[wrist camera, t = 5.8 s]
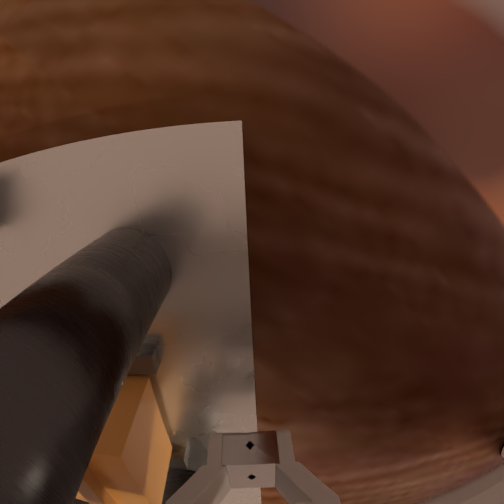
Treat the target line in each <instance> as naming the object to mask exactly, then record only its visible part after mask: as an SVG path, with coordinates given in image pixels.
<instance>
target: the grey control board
mask: <svg viewBox="0 0 504 504" xmlns="http://www.w3.org/2000/svg"><path fill="white" fill-rule="evenodd" d="M127 376H136V377H149V379H150V382H151V385H152V389H153V392H154V395H155V398H156V401H157V405H158V408H159V411H160V414H161V417H162V420H163V423H164V425H165V428H166V431H167V434H168V437H169V439H170V442H171V445H172V447H173V448H172V453H171V458H170V463H169V468H168V473H167V478H166V483H165V489H164V494H163V499H162V504H166V501H167V500H168V499H169V498H170V497H171V496H172V495H173V494H174V493H175V492H176V491H177V490H178V489H179V488H181V487H182V486H183V485H184V484H185V483H186V482H187V481H188V480H189V479H190V478H191V477H192V476H193V475H194V474H195V473H196V471H197V470H198V469H199V468H200V467H201V466H202V465H206V462H207V451H208V441H209V434H210V432H215V433H250V432H257V415H256V396H255V377H254V358H253V338H252V318H251V299H250V278H249V258H248V237H247V216H246V195H245V174H244V152H243V130H242V121H225V122H211V123H199V124H188V125H178V126H170V127H162V128H154V129H147V130H140V131H133V132H127V133H121V134H115V135H109V136H104V137H99V138H94V139H89V140H84V141H79V142H75V143H70V144H66V145H62V146H57V147H53V148H49V149H45V150H42V151H38V152H34V153H30V154H27V155H23V156H20V157H16V158H13V159H10V160H7V161H3V162H0V504H89V503H88V502H86V501H83V500H79V499H76V496H77V493H78V490H79V488H80V485H81V483H82V480H83V477H84V475H85V472H86V470H87V467H88V465H89V462H90V460H91V457H92V455H93V452H94V450H95V447H96V445H97V443H98V440H99V438H100V436H101V433H102V431H103V428H104V426H105V424H106V421H107V419H108V417H109V415H110V412H111V410H112V408H113V406H114V403H115V401H116V399H117V397H118V394H119V392H120V390H121V388H122V386H123V383H124V381H125V379H126V377H127ZM220 504H261V488H236V489H231V490H230V491H229V493H228V494H227V495H226V497H225V498H224V499H223V501H222V502H221V503H220Z"/></svg>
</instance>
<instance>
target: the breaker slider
mask: <svg viewBox="0 0 504 504" xmlns="http://www.w3.org/2000/svg"><path fill="white" fill-rule="evenodd" d="M172 448H173V447H172V445H171V442H170V439H169V437H168V434H167V431H166V428H165V425H164V423H163V420H162V417H161V414H160V411H159V408H158V405H157V401H156V398H155V395H154V392H153V389H152V385H151V382H150V379H149V377H136V376H127V377H126V379H125V381H124V383H123V386H122V388H121V390H120V392H119V394H118V397H117V399H116V401H115V403H114V406H113V408H112V410H111V412H110V415H109V417H108V419H107V421H106V424H105V426H104V428H103V431H102V433H101V436H100V438H99V440H98V443H97V445H96V447H95V450H94V452H93V455H92V457H91V460H90V462H89V465H88V467H87V470H86V472H85V475H84V477H83V480H82V483H81V485H80V488H79V490H78V493H77V496H76V499H79V500H83V501H86V502H88V503H89V504H162V499H163V494H164V489H165V483H166V478H167V473H168V468H169V463H170V458H171V453H172Z"/></svg>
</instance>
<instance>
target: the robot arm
mask: <svg viewBox="0 0 504 504" xmlns="http://www.w3.org/2000/svg"><path fill="white" fill-rule="evenodd" d="M501 456H502V457H503V458H504V447H503V449H502V453H501ZM262 487H275V488H276V490H277V491H278V492H279V493H280V494H281V495H282V496H283V498H284V499H285V500H286V501H287V502H288V503H289V504H340V500H339V496H338V495H337V494H336V493H335V492H333V491H332V490H331V489H330V488H328V487H327V486H326V485H325V484H324V483H323V482H321V481H320V480H319V479H318V478H317V477H316V476H314V475H313V474H312V473H311V472H310V471H309V470H308V469H306V468H305V467H304V466H303V465H302V464H301V463H300V462H295V458H294V452H293V446H292V439H291V433H290V430H289V429H288V430H276V431H275V430H273V431H259V432H250V433H215V432H210V434H209V441H208V451H207V462H206V465H202V466H201V467H200V468H199V469H198V470H197V471H196V473H195V474H194V475H193V476H192V477H191V478H190V479H189V480H188V481H187V482H186V483H185V484H184V485H183V486H182V487H181V488H179V489H178V490H177V491H176V492H175V493H174V494H173V495H172V496H171V497H170V498H169V499H168V500H167V501H166V504H220V503H221V502H222V501H223V499H224V498H225V497H226V495H227V494H228V493H229V491H230V490H231V489H236V488H262ZM415 504H504V462H503V463H502V464H500V465H498V466H496V467H495V468H493V469H491V470H489V471H487V472H485V473H484V474H482V475H480V476H478V477H476V478H474V479H472V480H470V481H468V482H466V483H463V484H461V485H459V486H457V487H455V488H453V489H450V490H448V491H446V492H443V493H441V494H438V495H436V496H433V497H431V498H428V499H426V500H423V501H420V502H417V503H415Z"/></svg>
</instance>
